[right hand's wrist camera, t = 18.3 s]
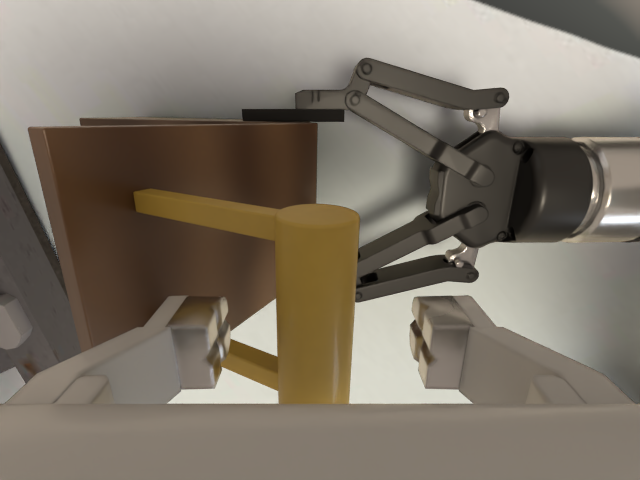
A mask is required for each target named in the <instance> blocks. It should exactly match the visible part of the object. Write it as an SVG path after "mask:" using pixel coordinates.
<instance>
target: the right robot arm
mask: <svg viewBox="0 0 640 480" xmlns="http://www.w3.org/2000/svg"><path fill="white" fill-rule="evenodd" d="M227 313H228V305H227V300H226V298H225V297H224V296H188V295H186V296H169V297H168V298H167V299H166V300H165V301H164V302H163V304H162V305H161V306H160V307H159V309H158V310H157V311H156V312H155V313H154V315H153V316H152V317H151V318H150V319H149V321H148V322H147V323H146V324H145V325H144V327H136V328H134V329H132V330H130V331H128V332H126V333H123V334H121V335H119V336H117V337H115V338H113V339H111V340H108V341H106V342H104V343H102V344H100V345H98V346H95V347H93V348H91V349H89V350H87V351H85V352H82V353H80V354H78V355H76V356H74V357H72V358H70V359H67V360H65V361H63V362H61V363H59V364H57V365H54V366H52V367H50V368H48V369H46V370H44V371H41V372H39V373H37V374H36V375H35V376H34V377H33V378H32V379H31V380H30V381H29V382H27V383H26V384H25V385H24V386H23V387H22V388H21V389H20V390H19V391H18V392H17V393H16V394H14V395H13V396H12V397H11V398H10V399H9V400H8V401H7V402H6V403H5V404H0V480H640V404H635V403H634V402H633V401H632V400H631V399H630V398H629V397H628V396H627V395H626V394H625V393H624V392H622V391H621V390H620V389H619V388H618V387H617V386H616V385H615V384H614V383H613V382H612V381H611V380H610V379H608V378H607V377H606V376H605V375H604V374H603V373H600V372H598V371H596V370H594V369H592V368H590V367H587V366H585V365H583V364H581V363H579V362H577V361H575V360H572V359H570V358H568V357H566V356H564V355H562V354H560V353H557V352H555V351H553V350H551V349H549V348H547V347H544V346H542V345H540V344H538V343H536V342H534V341H532V340H529V339H527V338H525V337H523V336H521V335H519V334H516V333H514V332H512V331H510V330H508V329H506V328H504V327H496V325H495V324H494V323H493V322H492V321H491V319H490V318H489V317H488V316H487V315H486V313H485V312H484V311H483V310H482V309H481V307H480V306H479V305H478V304H477V303H476V301H475V300H474V299H473V298H472V297H471V296H468V295H466V296H423V297H414V300H413V304H412V313H413V315H414V317H415V320H414V321H413V322H412V323H411V325H410V335H409V336H410V347H411V352H412V355H413V358H414V359H415V360H416V361H418V362H419V367H418V371H419V374H420V376H421V379H422V381H423V384H424V386H425V389H459V391H460V392H461V393H462V394H463V395H464V396H465V397H467V398H468V399H469V400H470V401H471V402H472V403H474V404H167V403H168V402H169V401H170V400H171V399H172V398H174V397H175V396H176V395H177V394H178V393H179V392H181V389H214V388H215V387H216V384H217V381H218V379H219V376H220V374H221V371H222V367H221V362H222V361H224V360H225V359H226V358H227V355H228V352H229V347H230V325H229V323H228V322H227V321H226V320H225V317H226V315H227Z"/></svg>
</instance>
